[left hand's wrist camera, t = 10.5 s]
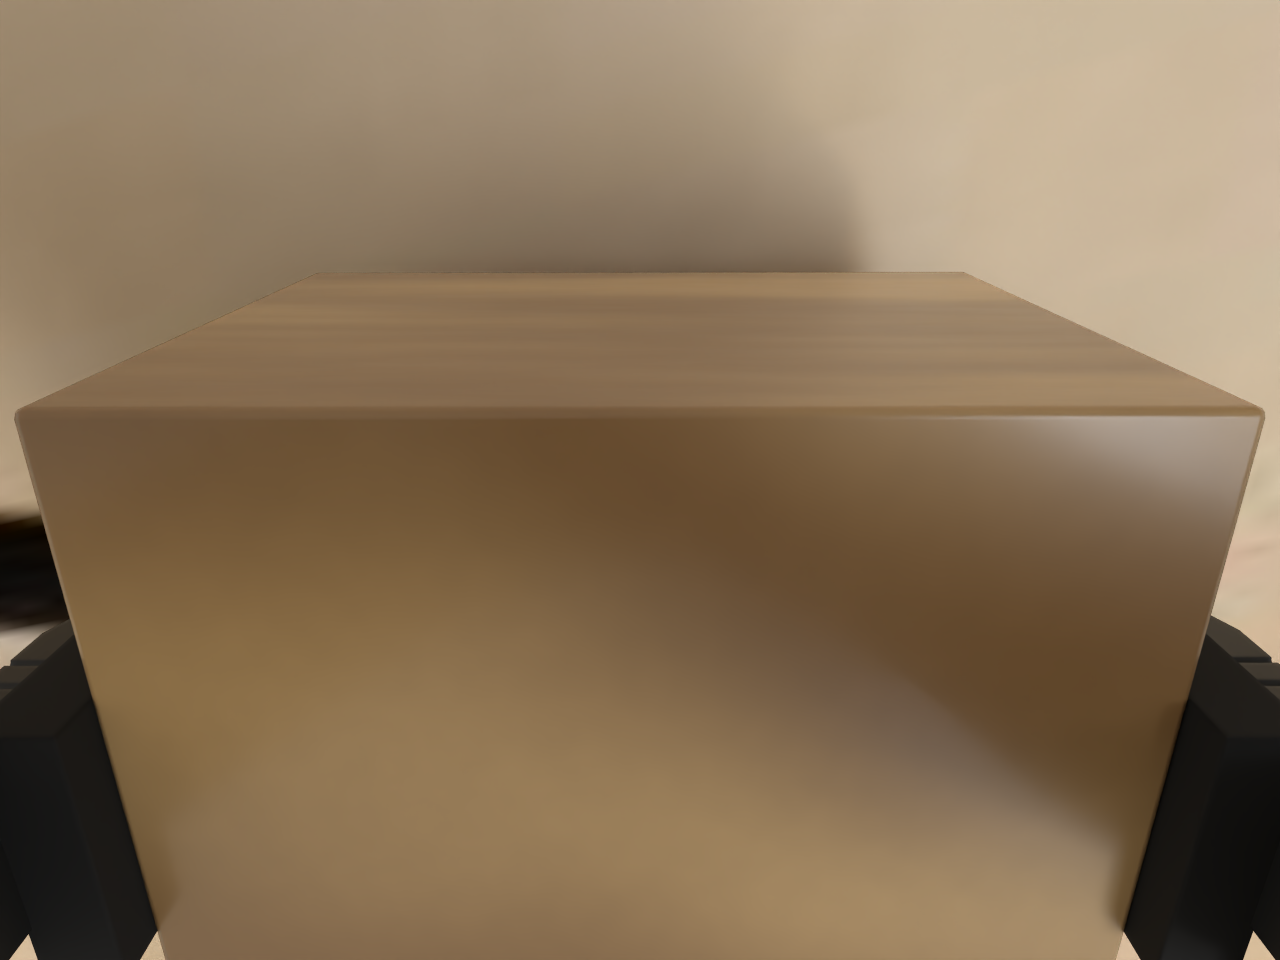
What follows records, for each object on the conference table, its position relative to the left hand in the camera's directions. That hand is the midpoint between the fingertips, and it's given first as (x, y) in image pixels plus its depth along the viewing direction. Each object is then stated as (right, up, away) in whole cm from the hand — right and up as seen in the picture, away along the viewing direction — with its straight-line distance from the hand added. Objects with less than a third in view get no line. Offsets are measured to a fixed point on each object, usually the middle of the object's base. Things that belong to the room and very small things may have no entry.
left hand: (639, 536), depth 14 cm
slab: (0, -30, +13) cm, 33 cm away
